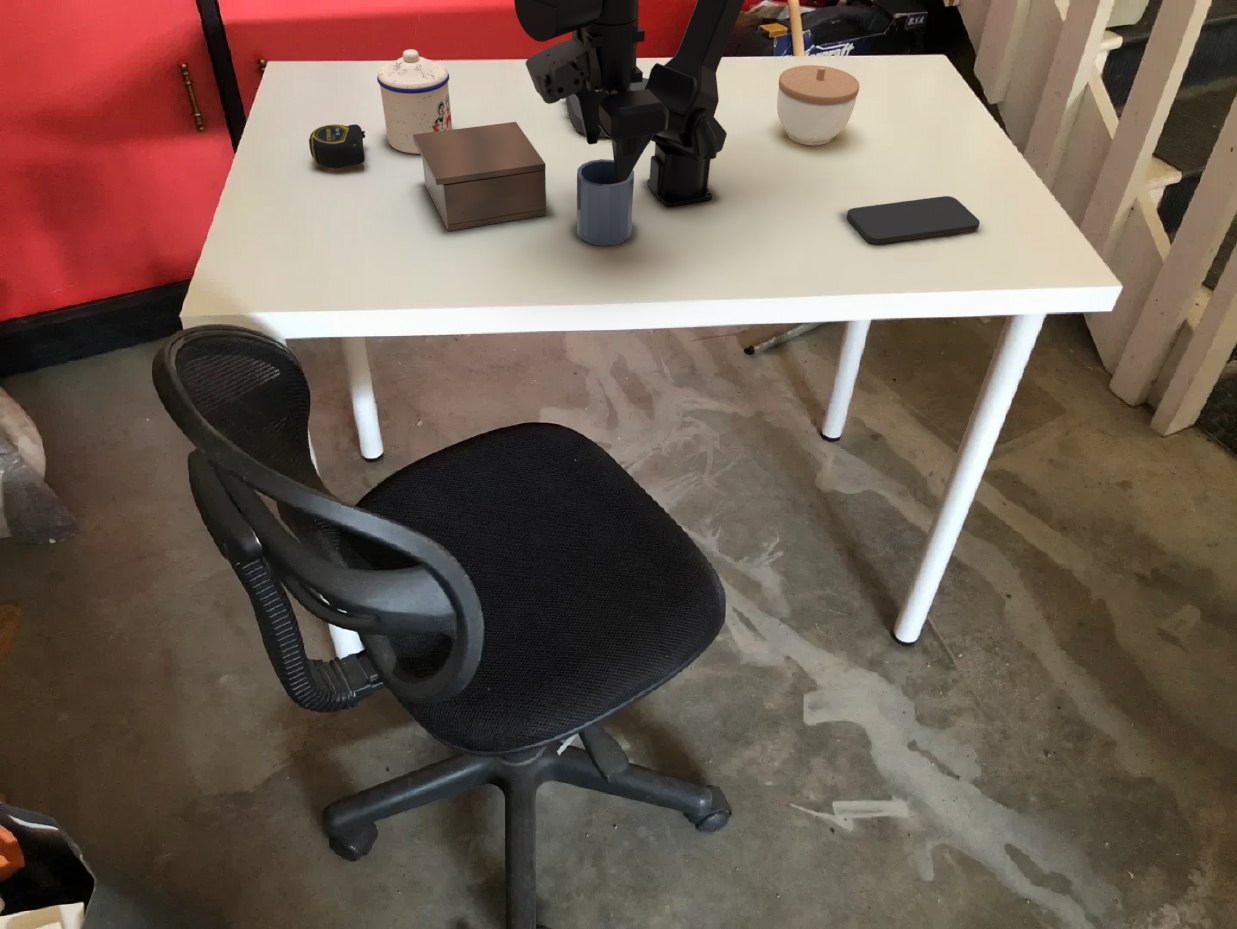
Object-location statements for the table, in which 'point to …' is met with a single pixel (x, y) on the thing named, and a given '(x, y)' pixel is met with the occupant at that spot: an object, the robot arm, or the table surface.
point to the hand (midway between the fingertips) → (606, 161)
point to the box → (489, 199)
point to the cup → (603, 204)
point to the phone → (912, 219)
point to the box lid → (477, 153)
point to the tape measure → (337, 145)
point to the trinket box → (815, 102)
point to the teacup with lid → (414, 99)
